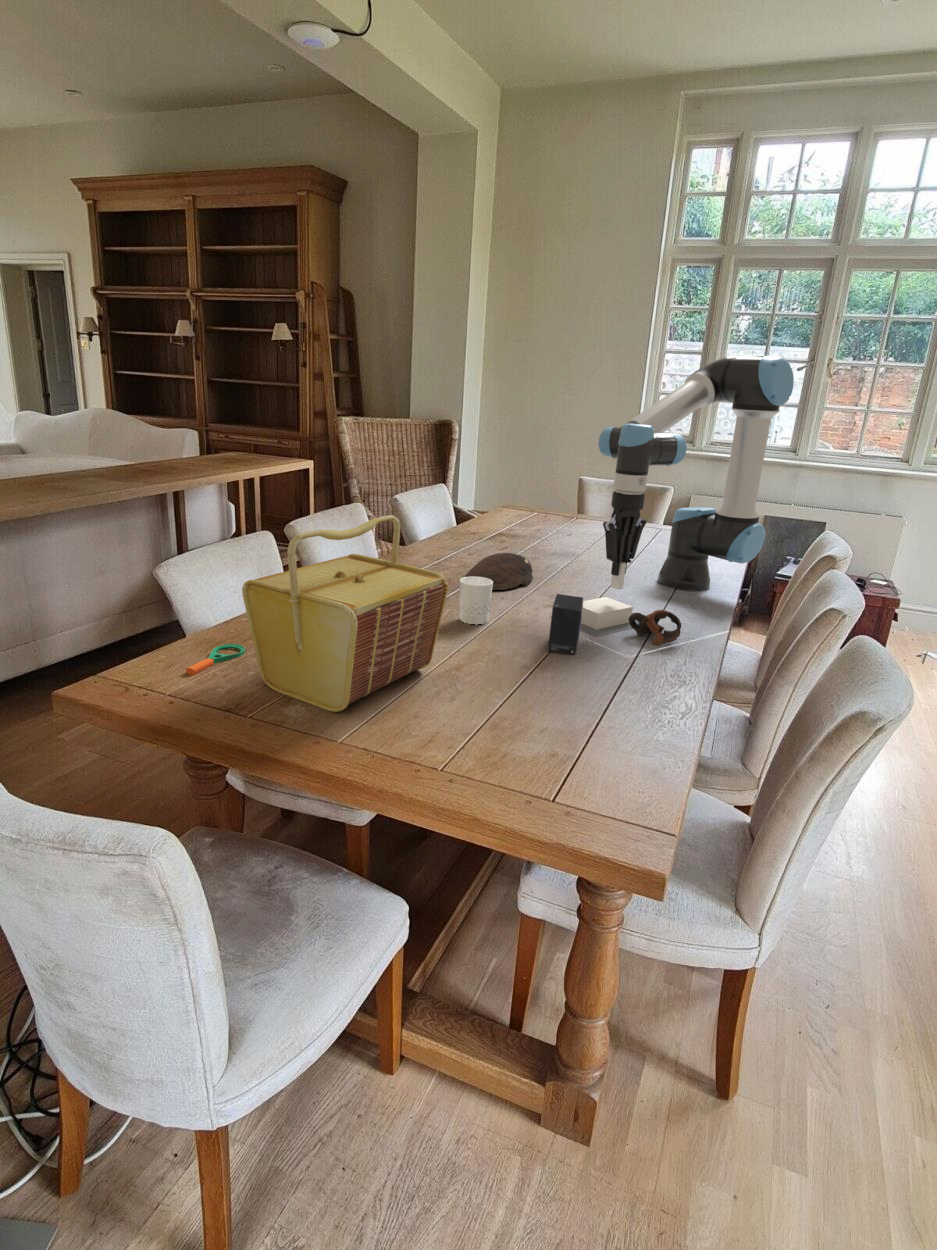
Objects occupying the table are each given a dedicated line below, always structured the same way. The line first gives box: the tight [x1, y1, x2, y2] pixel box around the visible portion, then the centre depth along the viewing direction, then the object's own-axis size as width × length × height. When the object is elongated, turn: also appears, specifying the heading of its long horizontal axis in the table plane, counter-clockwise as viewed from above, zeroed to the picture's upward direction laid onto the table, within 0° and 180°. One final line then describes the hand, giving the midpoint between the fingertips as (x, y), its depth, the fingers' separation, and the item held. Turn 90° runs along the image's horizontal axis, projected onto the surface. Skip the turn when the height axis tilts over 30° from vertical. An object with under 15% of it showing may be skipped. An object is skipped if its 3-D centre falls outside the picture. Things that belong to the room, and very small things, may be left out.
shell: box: [462, 552, 533, 591], centre depth 208 cm, size 34×20×8 cm, turn 161°
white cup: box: [459, 576, 493, 626], centre depth 170 cm, size 8×8×10 cm
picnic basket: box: [241, 514, 449, 713], centre depth 130 cm, size 29×26×30 cm
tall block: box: [581, 596, 634, 630], centre depth 175 cm, size 4×9×12 cm
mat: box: [549, 612, 639, 638], centre depth 176 cm, size 22×16×1 cm
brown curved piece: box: [628, 609, 682, 646], centre depth 165 cm, size 12×9×8 cm
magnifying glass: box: [185, 643, 246, 676], centre depth 139 cm, size 15×6×2 cm, turn 162°
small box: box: [546, 593, 584, 656], centre depth 157 cm, size 11×6×10 cm, turn 168°
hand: (616, 587), depth 176 cm, fingers closed
